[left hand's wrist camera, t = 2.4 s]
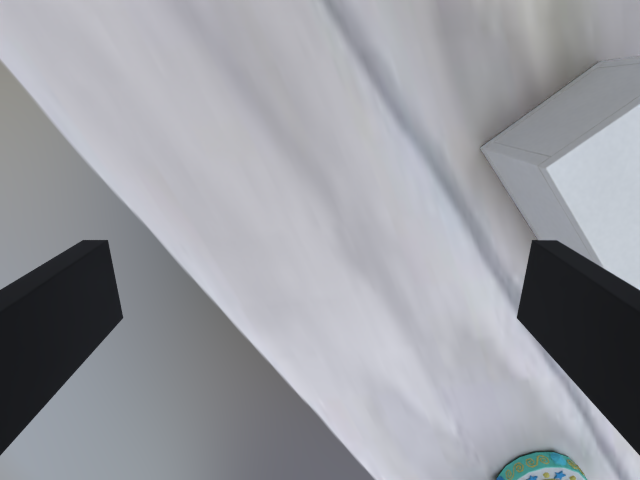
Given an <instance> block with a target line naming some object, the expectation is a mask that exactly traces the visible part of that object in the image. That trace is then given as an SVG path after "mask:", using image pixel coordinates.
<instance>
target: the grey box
mask: <svg viewBox="0 0 640 480" xmlns="http://www.w3.org/2000/svg"><path fill="white" fill-rule="evenodd" d="M480 149H481V151H482V152H483V154H484V155H485V157H486V158H487V160H488V162H489V163H490V165H491V166H492V168H493V170H494V171H495V173H496V174H497V176H498V177H499V179H500V181H501V182H502V184H503V185H504V187H505V189H506V190H507V192H508V193H509V195H510V196H511V198H512V200H513V201H514V203H515V204H516V206H517V208H518V209H519V211H520V212H521V214H522V215H523V217H524V219H525V220H526V222H527V223H528V225H529V227H530V228H531V230H532V231H533V233H534V234H535V236H536V238H537V239H538V240H558V241H559V242H561V243H562V244H564V245H566V246H567V247H569V248H571V249H572V250H574V251H576V252H577V253H579V254H581V255H582V256H584V257H586V258H587V259H589V260H591V261H592V262H594V263H596V264H597V265H599V266H601V267H602V268H604V269H606V270H607V271H609V272H611V273H612V274H614V275H616V276H617V277H619V278H621V279H622V280H624V281H626V282H627V283H629V284H631V285H632V286H634V287H636V288H637V289H639V290H640V56H635V57H628V58H620V59H612V60H607V61H600V62H598V63H597V64H595V65H594V66H593V67H591V68H590V69H588V70H587V71H586V72H584V73H583V74H582V75H580V76H579V77H577V78H576V79H575V80H573V81H572V82H570V83H569V84H568V85H566V86H565V87H564V88H562V89H561V90H559V91H558V92H557V93H555V94H554V95H552V96H551V97H550V98H548V99H547V100H546V101H544V102H543V103H541V104H540V105H539V106H537V107H536V108H534V109H533V110H532V111H530V112H529V113H527V114H526V115H525V116H523V117H522V118H521V119H519V120H518V121H516V122H515V123H514V124H512V125H511V126H509V127H508V128H507V129H505V130H504V131H503V132H501V133H500V134H498V135H497V136H496V137H494V138H493V139H491V140H490V141H489V142H487V143H486V144H485V145H483V146H482V147H481V148H480Z"/></svg>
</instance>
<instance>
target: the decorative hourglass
mask: <svg viewBox="0 0 640 480" xmlns="http://www.w3.org/2000/svg"><path fill="white" fill-rule="evenodd" d="M496 480H587V479H586V477H585V476H584V473H583V472H582V471H581V469H580V468H579V467H578V466H577V465H576V464H575V463H574V462H573V461H572V460H571V459H570V458H569V457H567V456H564V455H561V454H558V453H555V452H536V453H533V454H529V455H525V456H522V457H519V458H518V459H516V460H515V461H513V462H511V463H510V464H508V465H507V466H506V467H505V468H504V469H503V471H502V472H501V473H500V474H499V476H498V477H497V479H496Z"/></svg>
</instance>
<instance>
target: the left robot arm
mask: <svg viewBox="0 0 640 480" xmlns="http://www.w3.org/2000/svg"><path fill="white" fill-rule="evenodd" d="M122 319H123V315H122V310H121V305H120V300H119V294H118V289H117V284H116V279H115V274H114V269H113V264H112V259H111V254H110V249H109V244H108V240H83V241H81V242H79V243H78V244H76V245H74V246H73V247H71V248H69V249H68V250H66V251H64V252H63V253H61V254H59V255H58V256H56V257H54V258H53V259H51V260H49V261H48V262H46V263H44V264H43V265H41V266H39V267H38V268H36V269H34V270H33V271H31V272H29V273H28V274H26V275H24V276H23V277H21V278H19V279H18V280H16V281H14V282H13V283H11V284H9V285H8V286H6V287H4V288H3V289H1V290H0V455H1V454H2V453H3V452H4V451H5V450H6V448H7V447H8V446H9V445H10V444H11V443H12V442H13V441H14V439H15V438H16V437H17V436H18V435H19V434H20V433H21V432H22V430H23V429H24V428H25V427H26V426H27V425H28V424H29V423H30V422H31V420H32V419H33V418H34V417H35V416H36V415H37V414H38V413H39V412H40V410H41V409H42V408H43V407H44V406H45V405H46V404H47V403H48V401H49V400H50V399H51V398H52V397H53V396H54V395H55V394H56V392H57V391H58V390H59V389H60V388H61V387H62V386H63V385H64V384H65V382H66V381H67V380H68V379H69V378H70V377H71V376H72V375H73V373H74V372H75V371H76V370H77V369H78V368H79V367H80V366H81V364H82V363H83V362H84V361H85V360H86V359H87V358H88V357H89V355H90V354H91V353H92V352H93V351H94V350H95V349H96V348H97V347H98V345H99V344H100V343H101V342H102V341H103V340H104V339H105V338H106V337H107V335H108V334H109V333H110V332H111V331H112V330H113V329H114V328H115V326H116V325H117V324H118V323H119V322H120V321H121V320H122ZM517 319H518V320H519V321H520V322H521V323H522V324H523V325H524V326H525V328H526V329H527V330H528V331H529V332H530V333H531V334H532V335H533V337H534V338H535V339H536V340H537V341H538V342H539V343H540V344H541V345H542V347H543V348H544V349H545V350H546V351H547V352H548V353H549V354H550V356H551V357H552V358H553V359H554V360H555V361H556V362H557V363H558V364H559V366H560V367H561V368H562V369H563V370H564V371H565V372H566V373H567V375H568V376H569V377H570V378H571V379H572V380H573V381H574V382H575V384H576V385H577V386H578V387H579V388H580V389H581V390H582V391H583V392H584V394H585V395H586V396H587V397H588V398H589V399H590V400H591V401H592V403H593V404H594V405H595V406H596V407H597V408H598V409H599V410H600V412H601V413H602V414H603V415H604V416H605V417H606V418H607V419H608V420H609V422H610V423H611V424H612V425H613V426H614V427H615V428H616V429H617V431H618V432H619V433H620V434H621V435H622V436H623V437H624V438H625V439H626V441H627V442H628V443H629V444H630V445H631V446H632V447H633V448H634V450H635V451H636V452H637V453H638V454H639V455H640V290H639V289H637V288H636V287H634V286H632V285H631V284H629V283H627V282H626V281H624V280H622V279H621V278H619V277H617V276H616V275H614V274H612V273H611V272H609V271H607V270H606V269H604V268H602V267H601V266H599V265H597V264H596V263H594V262H592V261H591V260H589V259H587V258H586V257H584V256H582V255H581V254H579V253H577V252H576V251H574V250H572V249H571V248H569V247H567V246H566V245H564V244H562V243H561V242H559V241H558V240H532V244H531V249H530V254H529V259H528V264H527V269H526V274H525V279H524V284H523V289H522V294H521V299H520V305H519V310H518V315H517Z"/></svg>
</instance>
